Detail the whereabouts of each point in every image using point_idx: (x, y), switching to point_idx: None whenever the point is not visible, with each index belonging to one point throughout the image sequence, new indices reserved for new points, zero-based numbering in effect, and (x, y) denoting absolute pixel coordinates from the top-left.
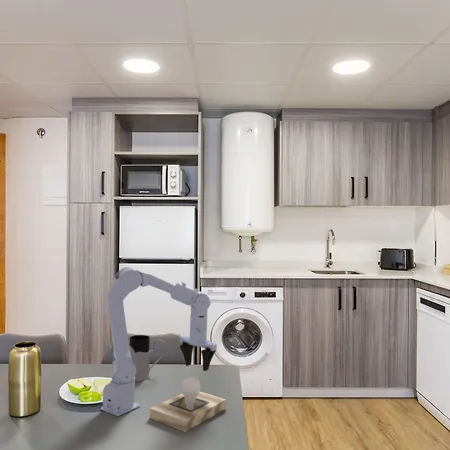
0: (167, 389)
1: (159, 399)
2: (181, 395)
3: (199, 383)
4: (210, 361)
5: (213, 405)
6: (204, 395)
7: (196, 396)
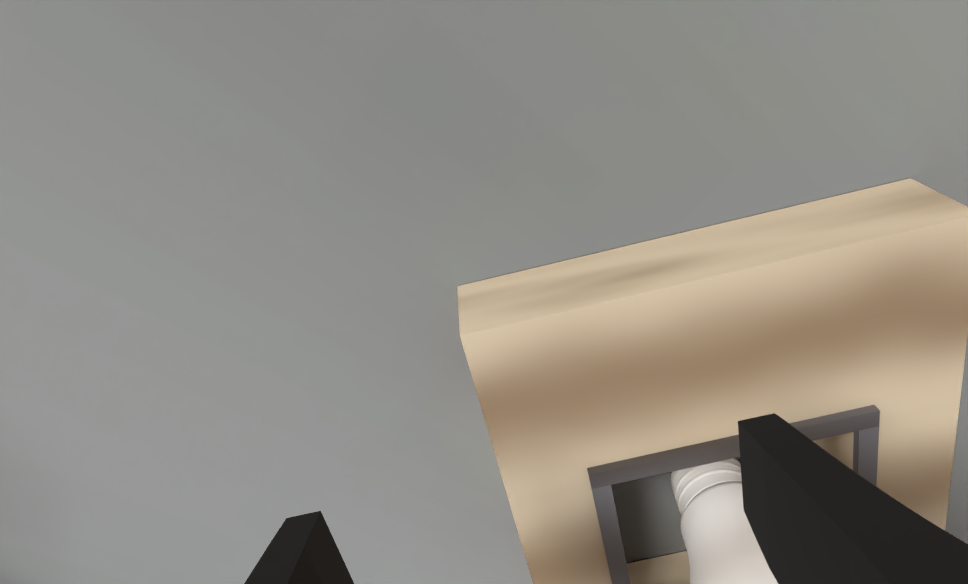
0: (108, 360)
1: None
2: (538, 501)
3: None
4: (916, 520)
5: (946, 404)
6: (708, 334)
7: None
